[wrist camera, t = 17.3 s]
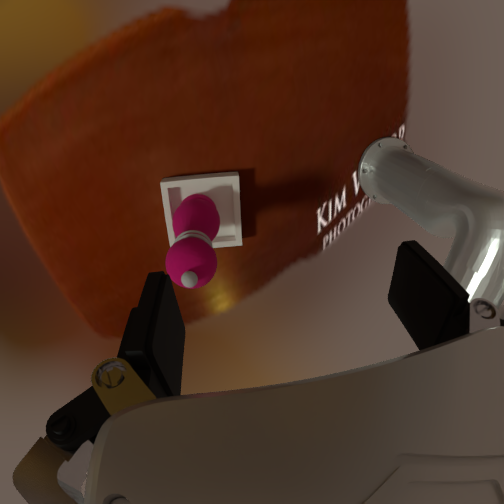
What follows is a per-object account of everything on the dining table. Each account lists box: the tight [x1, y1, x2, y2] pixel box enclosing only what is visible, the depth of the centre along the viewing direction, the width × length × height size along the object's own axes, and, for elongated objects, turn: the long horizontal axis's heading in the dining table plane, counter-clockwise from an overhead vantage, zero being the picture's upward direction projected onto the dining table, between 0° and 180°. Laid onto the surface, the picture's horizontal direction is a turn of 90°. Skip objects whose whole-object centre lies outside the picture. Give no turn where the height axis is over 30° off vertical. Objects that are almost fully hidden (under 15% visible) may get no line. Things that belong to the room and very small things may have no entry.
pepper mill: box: [166, 194, 220, 289], centre depth 39 cm, size 7×7×20 cm
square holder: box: [160, 172, 242, 248], centre depth 47 cm, size 12×12×2 cm
